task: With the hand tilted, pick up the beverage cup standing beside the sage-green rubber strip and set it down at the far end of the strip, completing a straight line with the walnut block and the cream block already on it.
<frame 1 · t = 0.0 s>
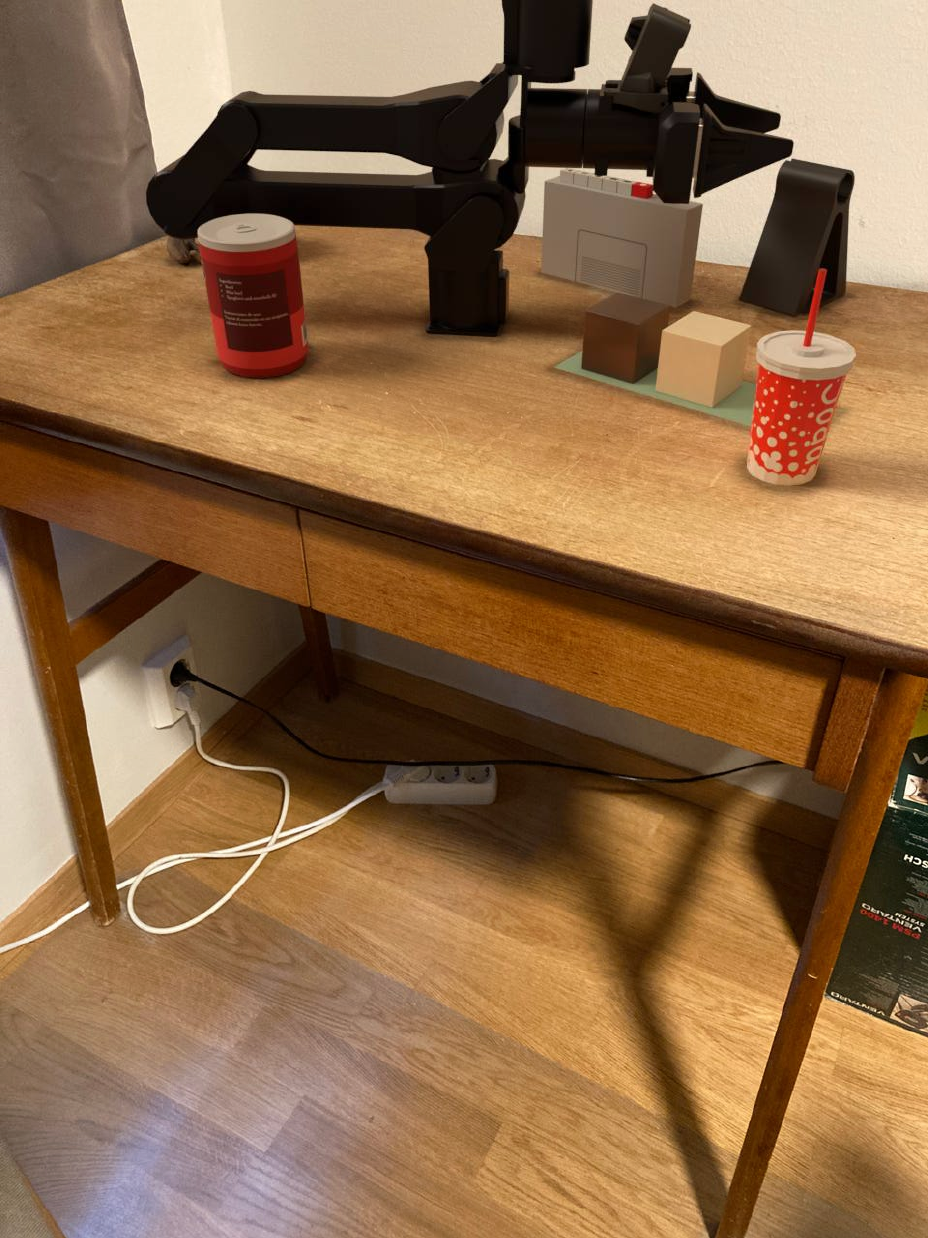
hand: (786, 133, 78), 17 cm above the table, tool horizontal, fingers open, 9 cm apart
cream block: (698, 388, 79), resting on line mat
phone stand: (791, 301, 96), on the table
canned food: (264, 362, 85), on the table
line mat: (689, 389, 80), on the table
walnut block: (622, 366, 83), resting on line mat
beverage cup: (779, 474, 70), on the table
cassette player: (612, 290, 98), on the table
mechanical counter: (232, 254, 108), on the table
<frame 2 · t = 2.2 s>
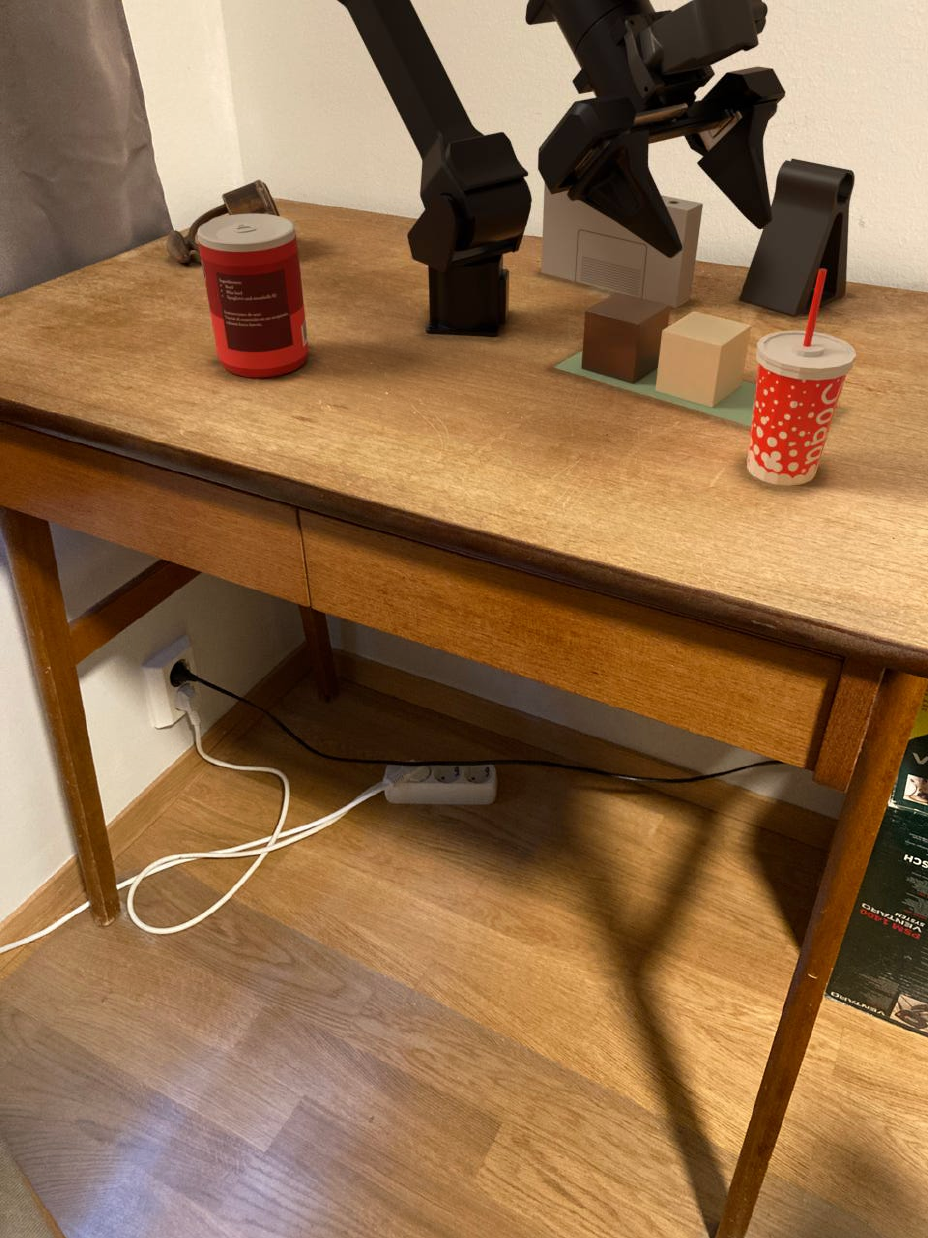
hand: (723, 239, 66), 14 cm above the table, tool tilted 45°, fingers open, 9 cm apart
nothing on the table moved.
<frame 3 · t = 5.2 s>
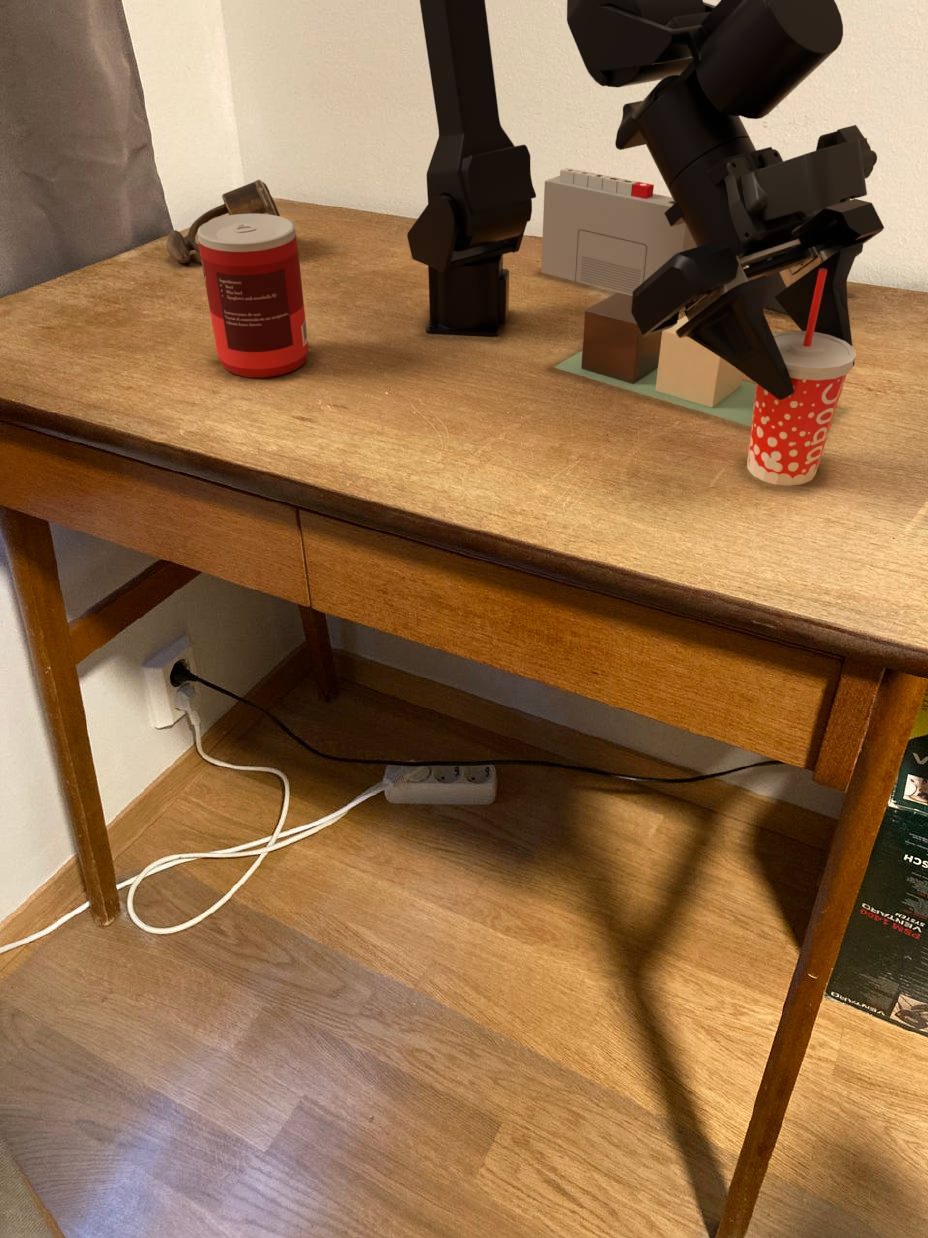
hand: (818, 383, 64), 7 cm above the table, tool tilted 45°, fingers closed on beverage cup, 6 cm apart
beverage cup: (779, 474, 70), on the table, touching gripper
everything else where it was.
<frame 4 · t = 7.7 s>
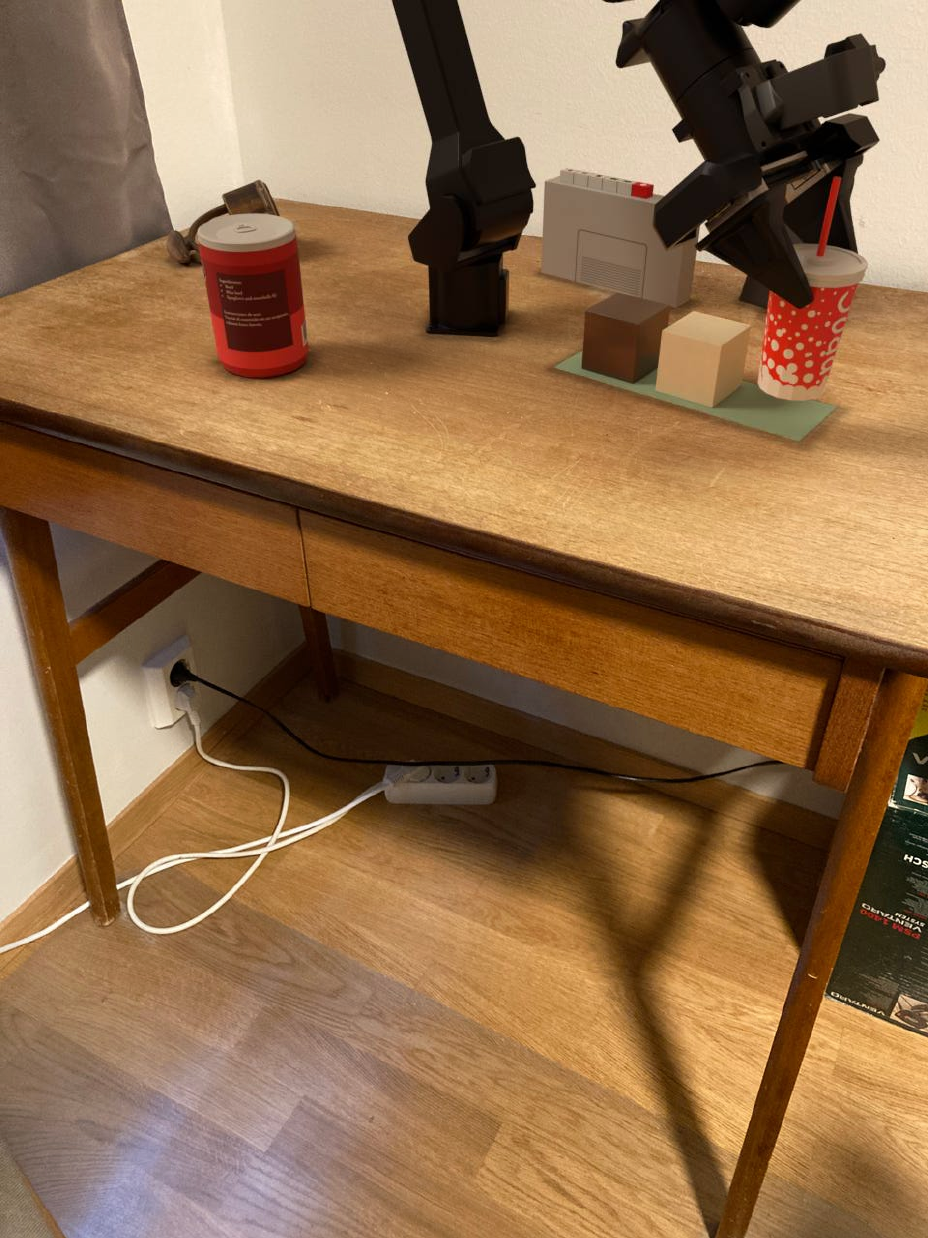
hand: (831, 292, 66), 11 cm above the table, tool tilted 45°, fingers closed on beverage cup, 6 cm apart
beverage cup: (790, 388, 71), point 4 cm above the table, touching gripper
everything else where it was.
when the fingers open (7 cm above the table, at t = 10.0 s): beverage cup stays where it is, resting on line mat.
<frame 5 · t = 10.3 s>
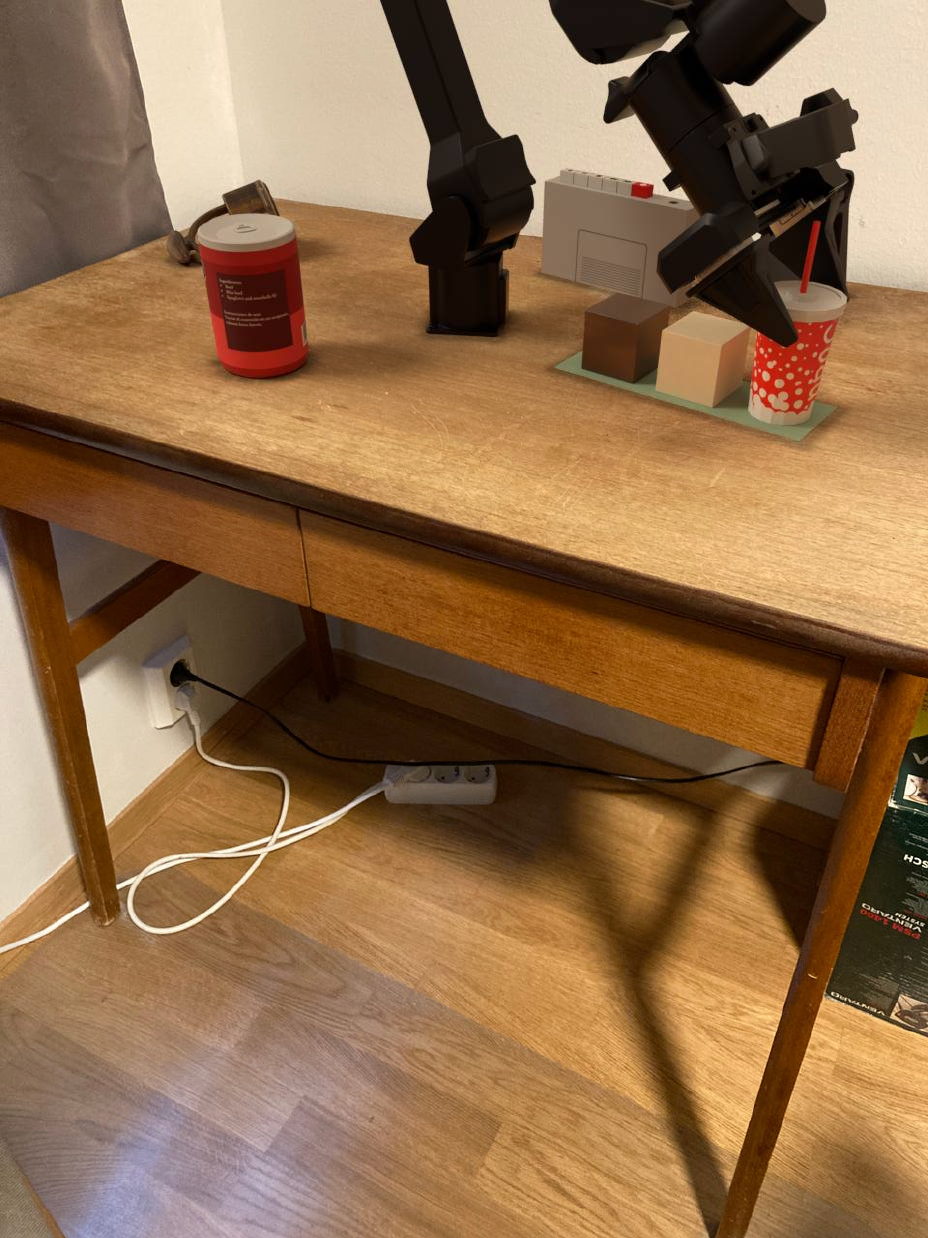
hand: (819, 323, 71), 8 cm above the table, tool tilted 45°, fingers open, 9 cm apart
beverage cup: (778, 413, 76), resting on line mat
everything else where it was.
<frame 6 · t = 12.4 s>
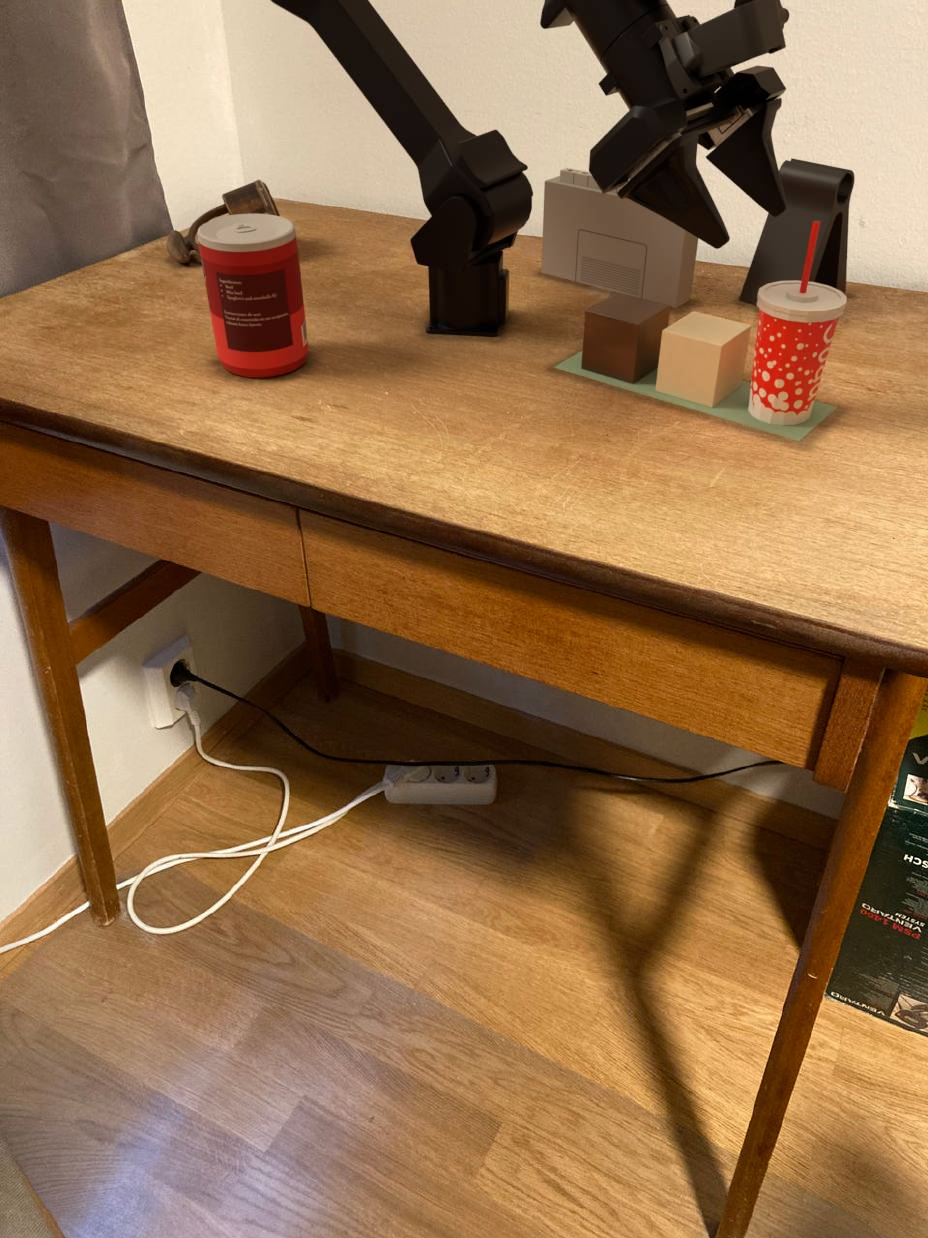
hand: (753, 228, 71), 13 cm above the table, tool tilted 45°, fingers open, 9 cm apart
nothing on the table moved.
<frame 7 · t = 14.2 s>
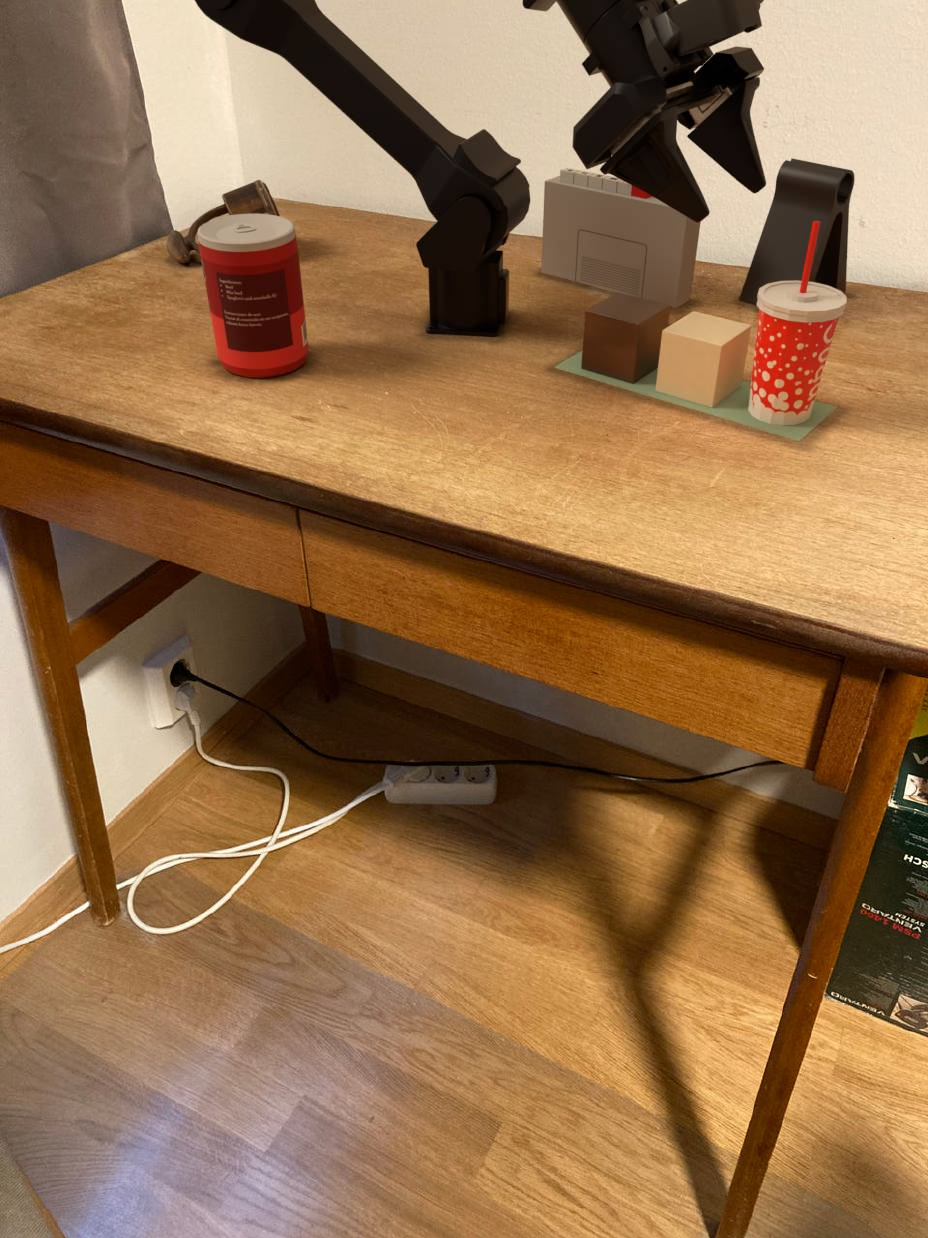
hand: (733, 203, 74), 14 cm above the table, tool tilted 45°, fingers open, 9 cm apart
nothing on the table moved.
at the end: beverage cup 0.2 cm from the target spot, resting on line mat; beverage cup tilted 0°; beverage cup 6.8 cm from the cream block (horizontally) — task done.
